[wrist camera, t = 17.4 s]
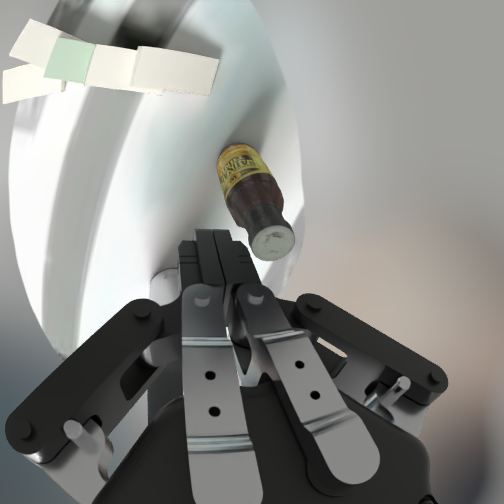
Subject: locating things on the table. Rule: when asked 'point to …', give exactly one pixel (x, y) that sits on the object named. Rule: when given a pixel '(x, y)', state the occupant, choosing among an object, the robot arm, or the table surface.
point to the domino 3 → (69, 60)
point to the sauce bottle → (255, 201)
